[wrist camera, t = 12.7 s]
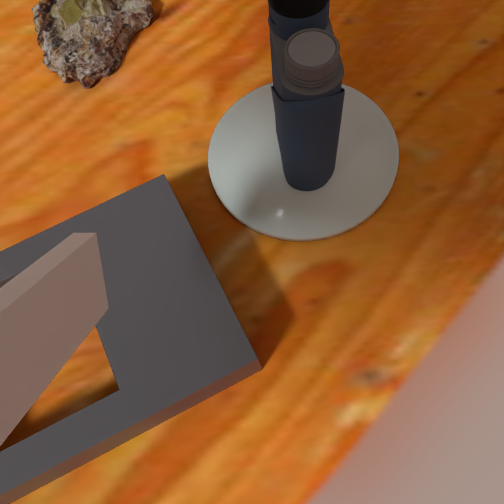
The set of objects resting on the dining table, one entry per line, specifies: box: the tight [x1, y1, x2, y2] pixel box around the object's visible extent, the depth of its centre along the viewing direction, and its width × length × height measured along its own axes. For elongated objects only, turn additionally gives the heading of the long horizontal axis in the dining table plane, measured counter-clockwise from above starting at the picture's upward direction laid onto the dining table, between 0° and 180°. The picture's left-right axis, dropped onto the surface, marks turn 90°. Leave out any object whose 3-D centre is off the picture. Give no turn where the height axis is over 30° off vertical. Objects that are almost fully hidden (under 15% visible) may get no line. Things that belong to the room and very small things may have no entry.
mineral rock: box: [32, 0, 153, 88], centre depth 30 cm, size 11×4×8 cm
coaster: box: [208, 82, 399, 242], centre depth 25 cm, size 10×10×1 cm
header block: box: [0, 174, 262, 504], centre depth 21 cm, size 10×18×2 cm, turn 117°
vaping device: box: [268, 0, 345, 191], centre depth 20 cm, size 3×5×12 cm, turn 8°
